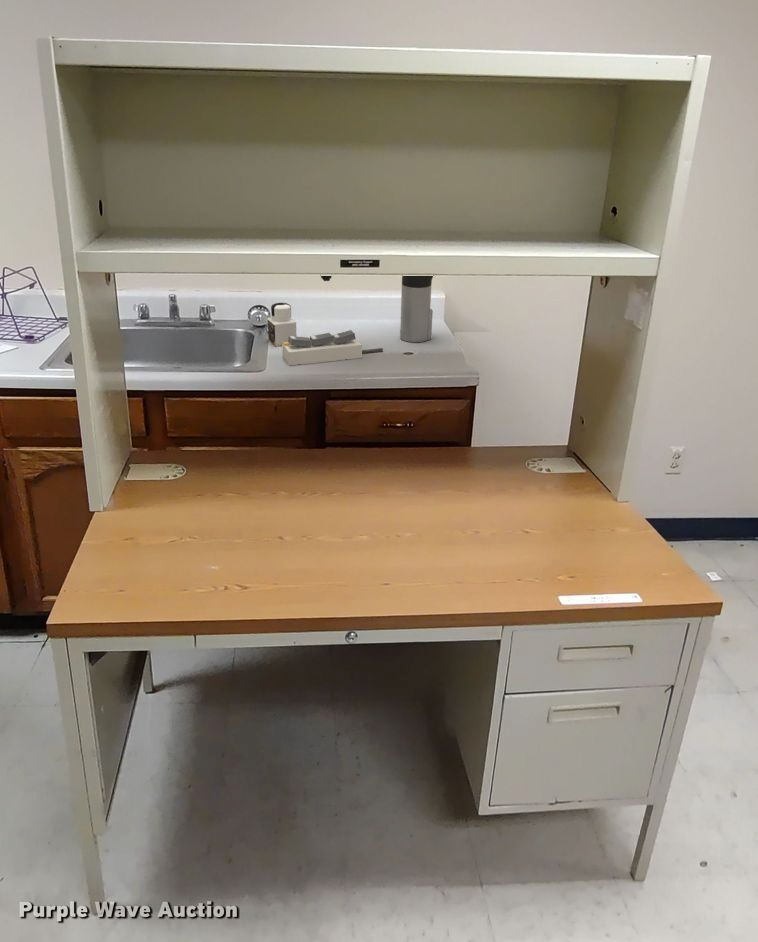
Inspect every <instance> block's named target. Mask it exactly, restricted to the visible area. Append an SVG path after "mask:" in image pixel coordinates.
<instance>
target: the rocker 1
mask: <svg viewBox="0 0 758 942" xmlns="http://www.w3.org/2000/svg"><path fill="white" fill-rule="evenodd" d="M288 343H289V344H290V345H292V346H305V347H311V343H312V341H311V340H310V337H307V336H298V335H297V336H289V337H288Z"/></svg>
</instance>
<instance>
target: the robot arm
mask: <svg viewBox="0 0 758 942" xmlns="http://www.w3.org/2000/svg"><path fill="white" fill-rule="evenodd" d="M433 278H434V275H433V276H403V275H402V277H401V296H400V297H401V298H400V323H399V324H400V328H399V329H400V330H399V335H400V336H399V339H400V340H402V341H404V342H409V343H422V342H423V343H424V342H427V341H429V340H432V335H433V334H432V332H433V331H432V328H433V314H434V313H433V309H432V308H431V297H432V281H433ZM320 279H322V281H324V282H330V281H331V279H332V276H321V275H320Z"/></svg>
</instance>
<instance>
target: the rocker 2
mask: <svg viewBox="0 0 758 942" xmlns="http://www.w3.org/2000/svg"><path fill="white" fill-rule="evenodd" d="M331 335H332V336H333V341H334V342H335V343H336V344H340V343H344V342H347V341H351V340H354V339H356V338H357V337H356V333H355V332H354V331H353V330H351V329H350V330H347V331H343V332H339V333H335V334H331ZM356 340H357V339H356Z"/></svg>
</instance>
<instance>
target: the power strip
mask: <svg viewBox="0 0 758 942" xmlns="http://www.w3.org/2000/svg"><path fill="white" fill-rule="evenodd" d="M281 348H282V351H281V352H282V359H284V361H285V362H286V363H287V364H288V365H289V366H290V365H291V366H299V365H298V364H301V365H306V364H317V363H318V364H319V363H328V362H336V361H337V362H338V361H345V359H348V360H356V359H362V358H363V354H368V353H369V354H372V353H379V352H384V348H382V347H379V348H371V349H369V348H368V349H363V344H362V343H360V342H359V341H358V340H357V339H354V340H351V341H347V342H344V343H340V344H336V343H335V342H334V341H333V342H331V343H326V344H321V345H316V346H313V345H312V344H311V347H305V346H292V345H290V344H289V343H288V342H283V344H282V347H281Z"/></svg>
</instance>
